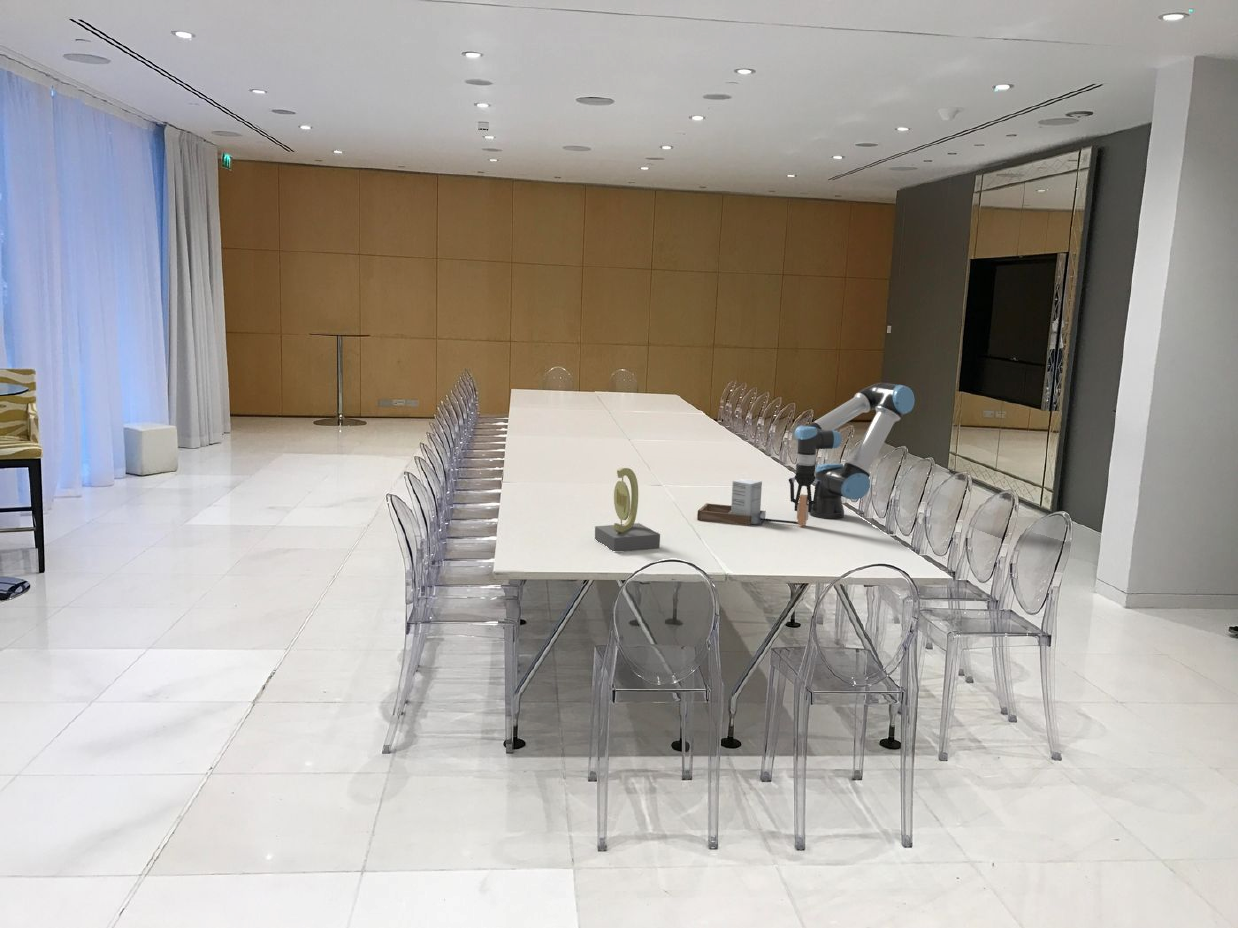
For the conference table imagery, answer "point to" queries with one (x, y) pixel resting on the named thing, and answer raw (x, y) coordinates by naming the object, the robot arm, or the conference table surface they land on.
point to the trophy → (630, 532)
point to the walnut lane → (721, 515)
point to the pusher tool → (801, 520)
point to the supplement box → (746, 497)
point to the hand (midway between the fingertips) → (802, 519)
